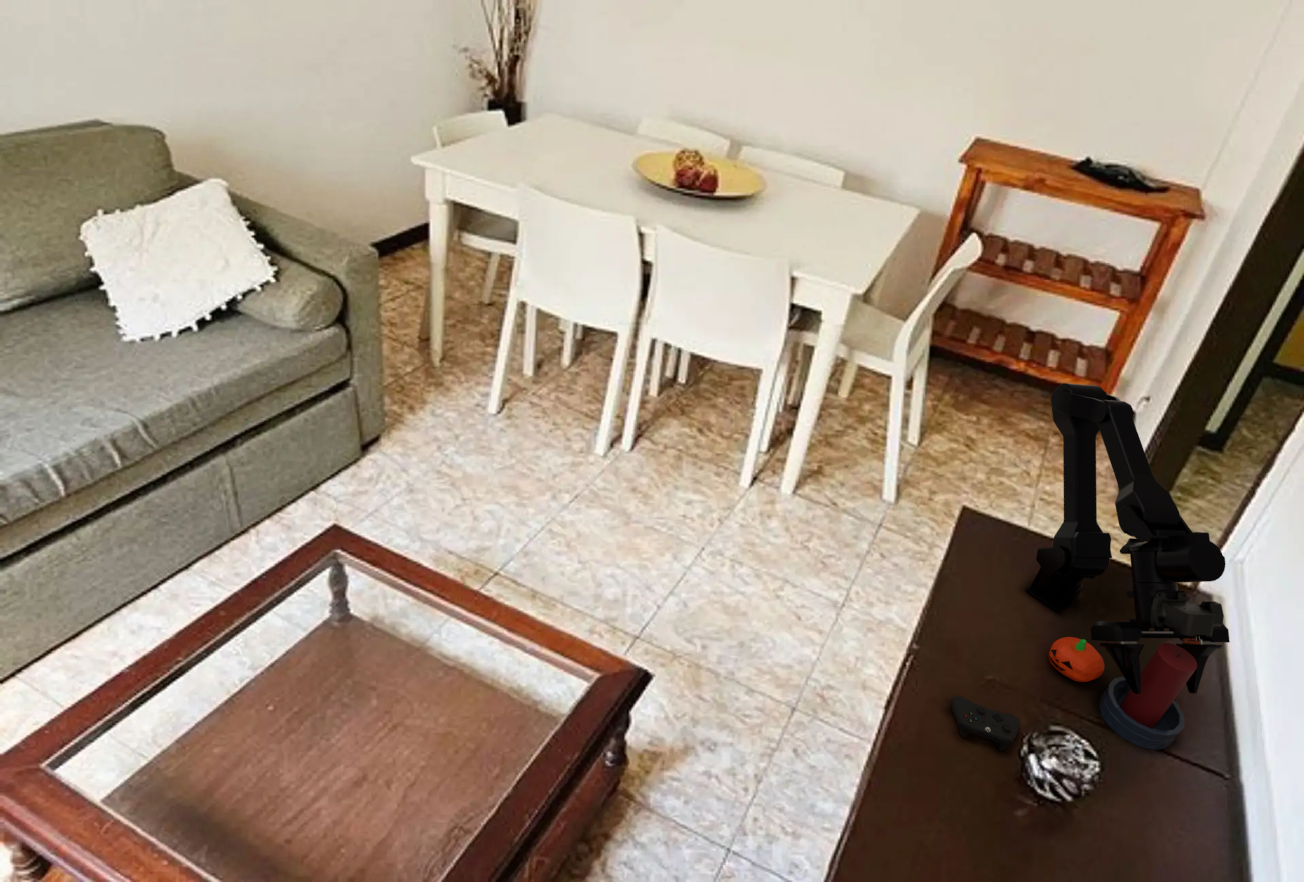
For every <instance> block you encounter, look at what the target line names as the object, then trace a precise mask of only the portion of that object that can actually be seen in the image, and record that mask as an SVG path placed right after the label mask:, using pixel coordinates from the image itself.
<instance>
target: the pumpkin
mask: <svg viewBox="0 0 1304 882" xmlns="http://www.w3.org/2000/svg"><path fill="white" fill-rule="evenodd" d="M1048 660H1049V663H1050V664H1051V665H1052V666H1053V668H1054V669H1055V670H1057V672H1059V673H1060V674H1061V675H1063V676H1065V677H1067V678H1068V679H1070V680H1072V681H1074V682H1078V683H1087V682H1090V681H1093V680H1096V679H1098V678H1100V677H1101V676H1102V674H1103V673H1104V671H1105V660H1104V658H1103V657H1102V656H1101V654H1100V653H1099V652H1098V651H1097V649H1096V648H1095V647H1094V646H1093V645H1092V644H1091V643H1089V642H1087V640H1086V639H1085V638H1084V639H1083V638H1078V637H1073V636H1065V637H1064V636H1063V637H1060V638H1059V639H1056V640H1055V641H1054V642H1053V643H1052V645H1051V646H1050V649H1049V652H1048Z"/></svg>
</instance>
